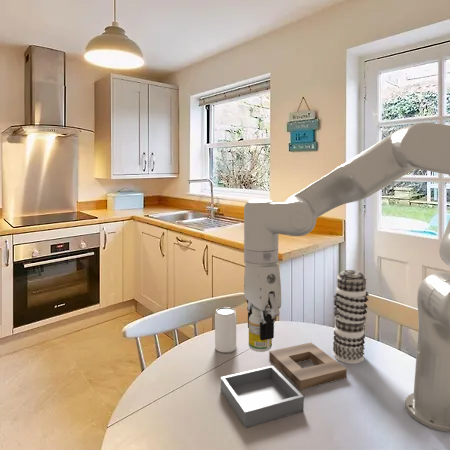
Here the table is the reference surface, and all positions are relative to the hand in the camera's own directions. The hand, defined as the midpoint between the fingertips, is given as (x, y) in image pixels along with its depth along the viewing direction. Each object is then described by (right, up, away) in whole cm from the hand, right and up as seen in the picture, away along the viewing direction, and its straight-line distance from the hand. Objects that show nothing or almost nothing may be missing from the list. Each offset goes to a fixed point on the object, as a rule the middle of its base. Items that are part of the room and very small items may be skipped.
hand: (260, 332), depth 86 cm
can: (-8, -13, +28) cm, 32 cm away
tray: (0, -17, +3) cm, 17 cm away
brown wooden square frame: (+14, -14, +17) cm, 26 cm away
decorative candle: (+28, -14, +23) cm, 38 cm away
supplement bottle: (0, -4, +1) cm, 4 cm away
